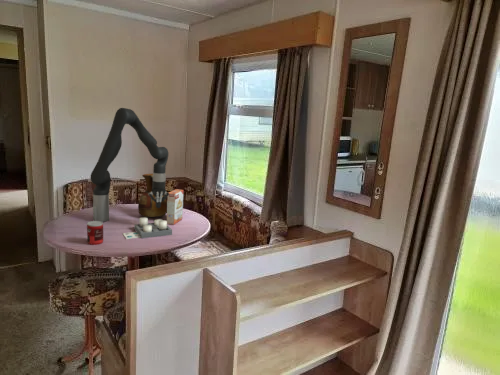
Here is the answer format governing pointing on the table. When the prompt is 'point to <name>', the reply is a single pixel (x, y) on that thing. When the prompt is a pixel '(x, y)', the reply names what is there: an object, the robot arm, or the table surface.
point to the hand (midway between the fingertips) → (158, 207)
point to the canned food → (95, 232)
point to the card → (131, 235)
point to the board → (154, 232)
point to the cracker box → (174, 206)
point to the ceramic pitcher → (150, 201)
